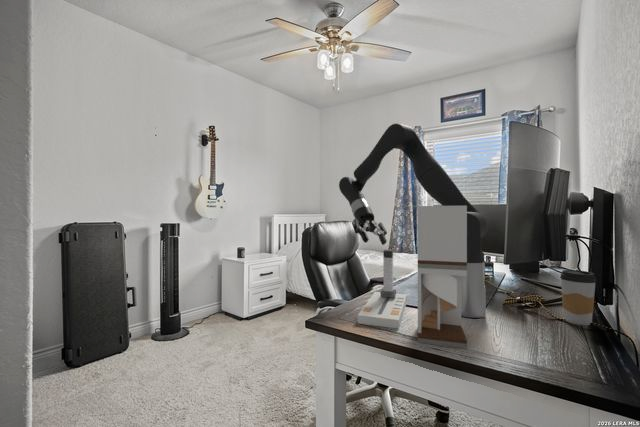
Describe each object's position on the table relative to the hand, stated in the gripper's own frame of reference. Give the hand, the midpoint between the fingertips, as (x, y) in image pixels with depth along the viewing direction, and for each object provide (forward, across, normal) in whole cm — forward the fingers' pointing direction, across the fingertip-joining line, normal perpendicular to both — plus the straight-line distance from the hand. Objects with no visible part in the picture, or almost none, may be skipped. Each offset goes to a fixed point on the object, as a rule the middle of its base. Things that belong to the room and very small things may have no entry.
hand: (375, 242), depth 115 cm
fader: (+18, +3, +8) cm, 20 cm away
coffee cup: (+44, +42, -23) cm, 65 cm away
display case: (+41, -3, -10) cm, 42 cm away
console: (+25, -3, +6) cm, 26 cm away
